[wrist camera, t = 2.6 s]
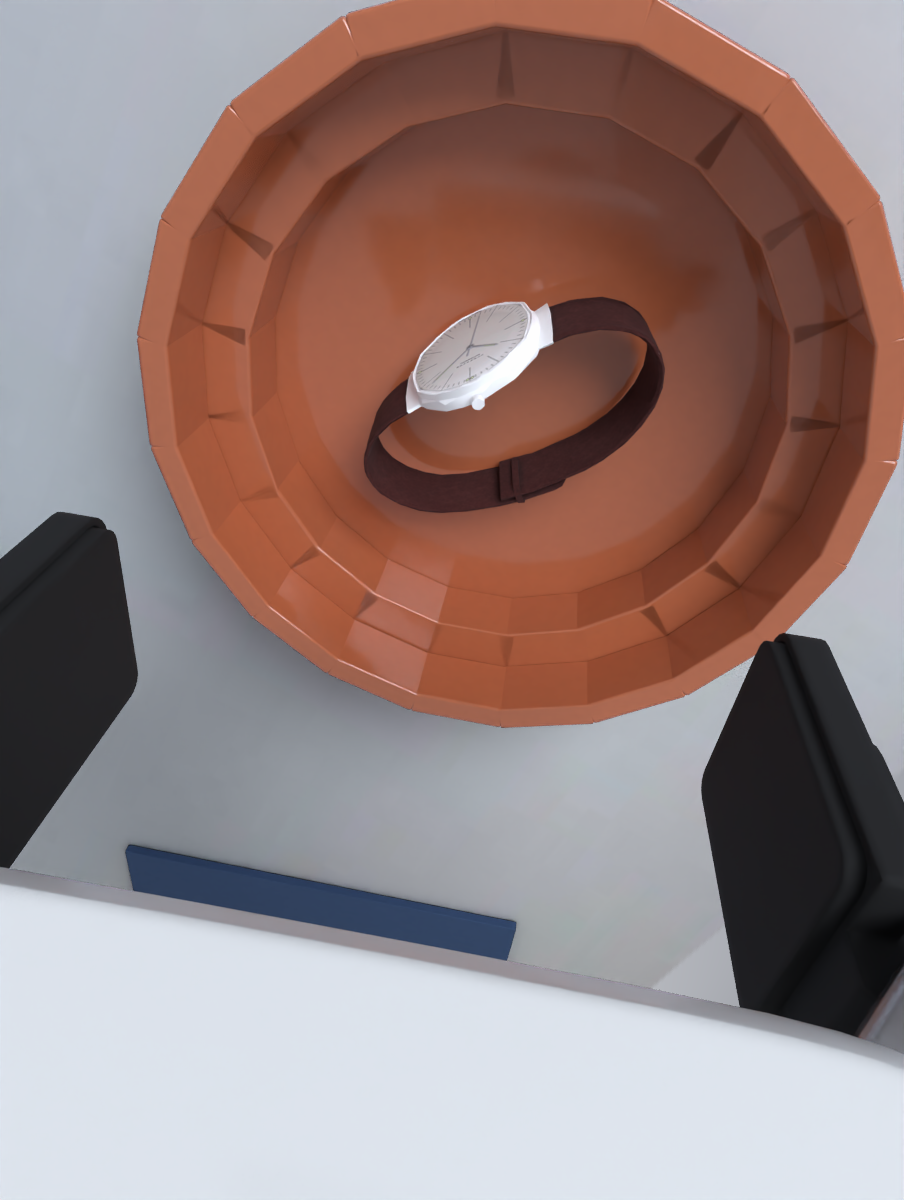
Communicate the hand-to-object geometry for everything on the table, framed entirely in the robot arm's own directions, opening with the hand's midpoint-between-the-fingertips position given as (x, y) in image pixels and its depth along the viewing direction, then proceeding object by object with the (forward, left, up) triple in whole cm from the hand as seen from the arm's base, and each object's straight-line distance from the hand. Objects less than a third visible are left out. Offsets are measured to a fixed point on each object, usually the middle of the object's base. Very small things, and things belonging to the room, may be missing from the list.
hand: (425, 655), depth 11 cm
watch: (0, 0, -11) cm, 11 cm away
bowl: (0, 0, -12) cm, 12 cm away
